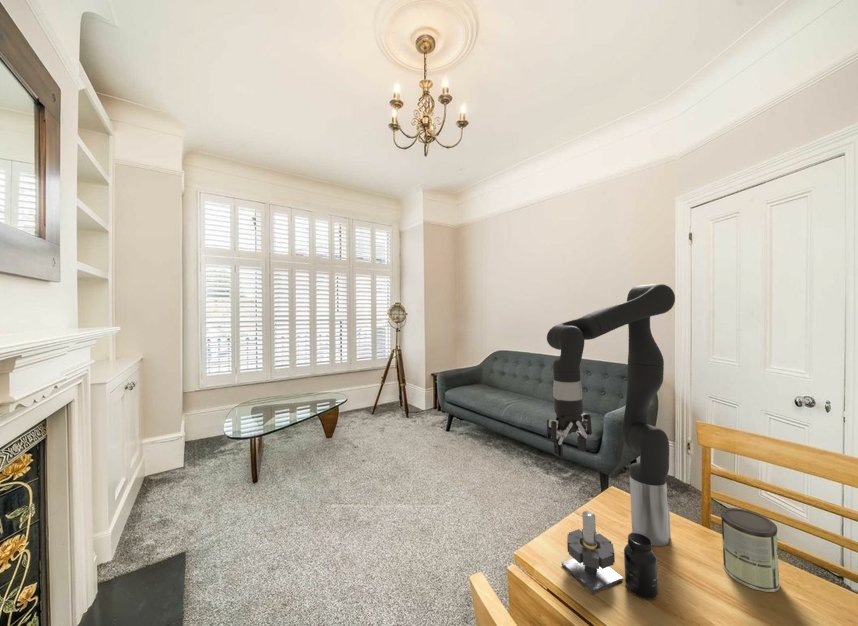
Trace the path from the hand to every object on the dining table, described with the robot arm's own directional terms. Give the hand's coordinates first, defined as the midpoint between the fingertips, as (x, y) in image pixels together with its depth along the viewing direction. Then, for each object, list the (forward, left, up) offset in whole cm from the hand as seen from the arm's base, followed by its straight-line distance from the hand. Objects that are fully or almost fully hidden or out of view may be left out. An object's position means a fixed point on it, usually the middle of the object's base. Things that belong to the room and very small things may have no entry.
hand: (570, 453), depth 93 cm
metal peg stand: (+2, +7, -28) cm, 29 cm away
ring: (+2, +7, -23) cm, 24 cm away
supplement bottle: (-5, +16, -28) cm, 33 cm away
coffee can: (-33, +24, -28) cm, 50 cm away
